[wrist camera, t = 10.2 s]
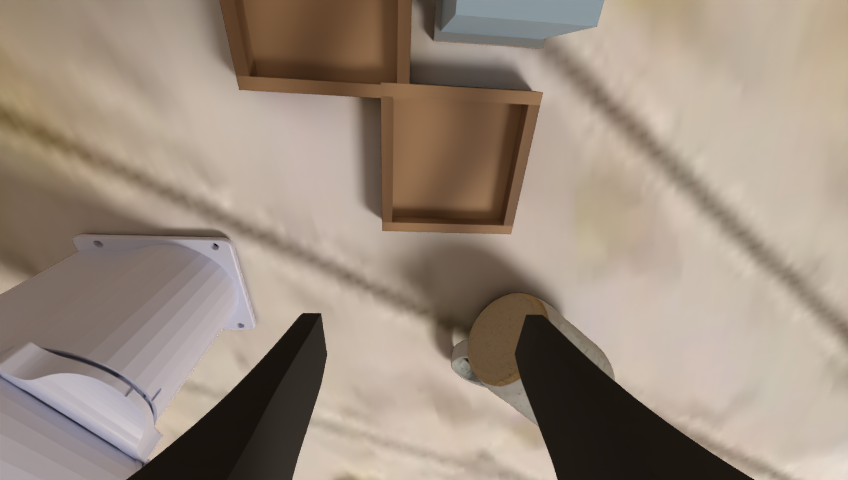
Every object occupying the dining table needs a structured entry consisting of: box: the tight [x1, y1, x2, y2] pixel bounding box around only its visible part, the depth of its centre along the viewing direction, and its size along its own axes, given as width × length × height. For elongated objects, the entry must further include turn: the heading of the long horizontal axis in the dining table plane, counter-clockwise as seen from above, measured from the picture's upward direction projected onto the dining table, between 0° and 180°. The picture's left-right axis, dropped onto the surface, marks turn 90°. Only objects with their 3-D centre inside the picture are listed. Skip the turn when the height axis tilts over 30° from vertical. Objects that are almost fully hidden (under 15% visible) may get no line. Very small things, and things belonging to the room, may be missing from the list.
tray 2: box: [381, 82, 543, 234], centre depth 18 cm, size 8×8×1 cm
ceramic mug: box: [451, 293, 615, 427], centre depth 22 cm, size 11×8×8 cm
